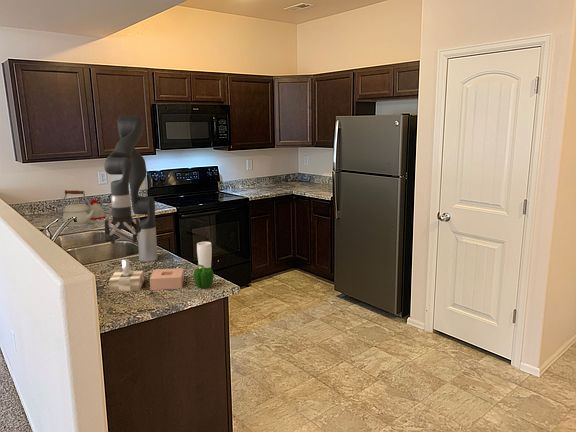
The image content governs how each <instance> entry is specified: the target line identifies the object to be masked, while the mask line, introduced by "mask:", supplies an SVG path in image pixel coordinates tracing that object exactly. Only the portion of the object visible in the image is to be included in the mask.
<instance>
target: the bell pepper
mask: <svg viewBox="0 0 576 432" xmlns="http://www.w3.org/2000/svg"><path fill="white" fill-rule="evenodd" d="M196 267H197V268H196V269H194V272H193V279H194V280H193V281H194V283H195V286H196V287H197V288H198V289H208V288H209V289H210V288H211V287H212V285H213V282H214V278H215V276H214V274H215V273H214V270H213V269H212V266H211V267H210V268H205V267H204V266H203V265H199V264H197V265H196ZM199 267H202V268H200V269H199Z"/></svg>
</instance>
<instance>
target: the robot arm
mask: <svg viewBox="0 0 576 432" xmlns="http://www.w3.org/2000/svg"><path fill="white" fill-rule="evenodd" d="M116 122H117V125H116V126H117V131H118V135H119V141H118V142H117V143H116V145H115V147H114V150H113V151H112V152H111V153H110V154H109V155H108V156H107V158H106V159H105V160H104V164H103V169H104V171H105V172H106V174H108V175H111V176H112V175H113V176H115V175H119V176H120V175H122V177H121V178H120V179H116V180H113V181H111V182H110V194H111V197H110V198H111V201H110V202H111V203H110V204H111V205H110V206H111V215H112V217H111V218H112V219H108V218H107V219H105V220H104V234H105V235H109V238H110V239H109V241H110V243H111V244H112V245H115V243H116V236H115V232H116V231H117V230H118V231H121V230H129V232H131V233H132V241H133V242H132V243H133V244H136V243H137V246H138V247H137V248H138V258H139V259H138V260H139V261H140V262H146V263H147V262H148V263H149V262H153V261H156V260H158V244H157V243H158V242H157V241H158V240H157V229H156V228H157V227H156V225H157V224H156V201H155V198H154V197H153V196H139V190H140V188H141V187H142V184H143V182H145V180H146V176H147V174H148V173H147V172H148V171H147V165H146V164H147V163H146V160H145V158H144V157H143V155H142V154H141V153H140V152H139V150H137V149H136V147H135V146H136V145H137V143H138V142H139V140H140V139H141V137H142V136H143V133H144V130H145V125H144V124H145V123H144V120H143V118H142V117H141V116H138V115H122V116H118V118H117V121H116ZM132 211H133V214H135V215H138V216H139V215H141V216H142V215H147V217H146V218H144V219H142V220H141V219H140V218H139V217H137V218H133V217H132ZM133 223H134V224H135V225H136V229H135V227H134V226H133V225H132V224H133ZM111 224H113V228H112V229H111V230H110V225H111Z"/></svg>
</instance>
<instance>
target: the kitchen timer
mask: <svg viewBox="0 0 576 432" xmlns="http://www.w3.org/2000/svg"><path fill="white" fill-rule="evenodd" d="M89 202H90V210H89V211H90V212H91V210H94V213H93V215H92V217H91V219H90V221H96V220H95V219H99V220H102V219H101V218H104V217H105V218H106V214H105V210H104V209H103V207H102V206H101V205H100V204H99V200H97V199H95V198H93V199H91V201H89ZM87 207H88V208H89V206H87ZM105 218H104V219H105Z"/></svg>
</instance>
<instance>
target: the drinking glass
mask: <svg viewBox="0 0 576 432" xmlns="http://www.w3.org/2000/svg"><path fill="white" fill-rule="evenodd" d="M212 251H213V249H212V242H210V241H200V242H197V243H196V255H197V261H198V262H197V264H198V265H203V266H204V267H205V268H210V267H211V268H212V253H213V252H212ZM200 268H202V267H198V269H200Z"/></svg>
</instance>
